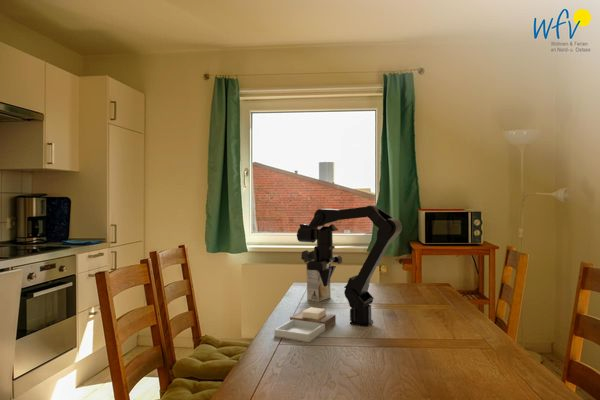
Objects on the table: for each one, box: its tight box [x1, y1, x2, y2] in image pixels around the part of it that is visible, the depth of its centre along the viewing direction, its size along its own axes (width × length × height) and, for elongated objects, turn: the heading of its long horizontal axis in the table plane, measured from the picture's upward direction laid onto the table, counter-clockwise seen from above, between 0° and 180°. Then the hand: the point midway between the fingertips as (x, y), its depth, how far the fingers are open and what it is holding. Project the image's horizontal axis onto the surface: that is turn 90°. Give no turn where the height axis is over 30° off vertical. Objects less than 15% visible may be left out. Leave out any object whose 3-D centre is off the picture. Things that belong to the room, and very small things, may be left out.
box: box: [274, 319, 326, 343], centre depth 135 cm, size 12×12×2 cm
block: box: [301, 306, 327, 320], centre depth 144 cm, size 6×6×2 cm
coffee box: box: [306, 261, 331, 303], centre depth 180 cm, size 9×6×16 cm
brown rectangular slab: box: [289, 310, 336, 332], centre depth 145 cm, size 13×9×3 cm
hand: (325, 286), depth 153 cm, fingers closed
